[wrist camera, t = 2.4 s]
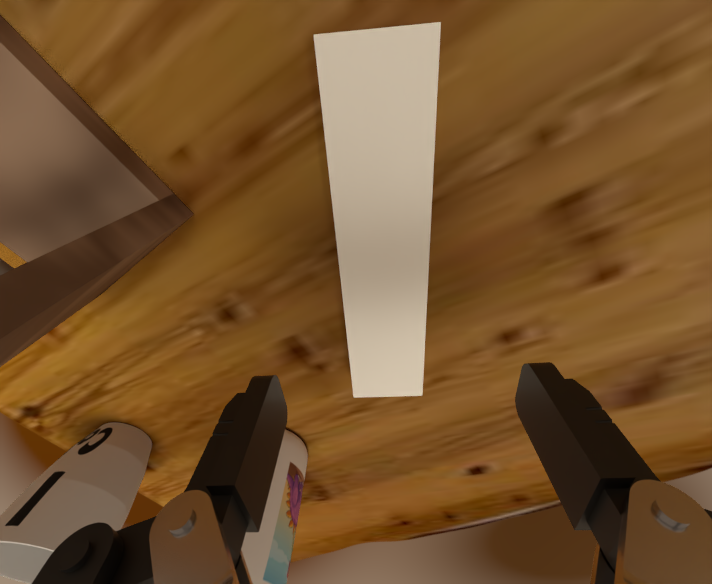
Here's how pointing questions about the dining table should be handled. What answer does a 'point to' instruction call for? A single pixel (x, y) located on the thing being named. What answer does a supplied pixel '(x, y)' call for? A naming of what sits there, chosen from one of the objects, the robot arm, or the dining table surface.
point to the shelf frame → (65, 199)
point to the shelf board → (382, 194)
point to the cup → (73, 497)
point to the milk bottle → (278, 516)
